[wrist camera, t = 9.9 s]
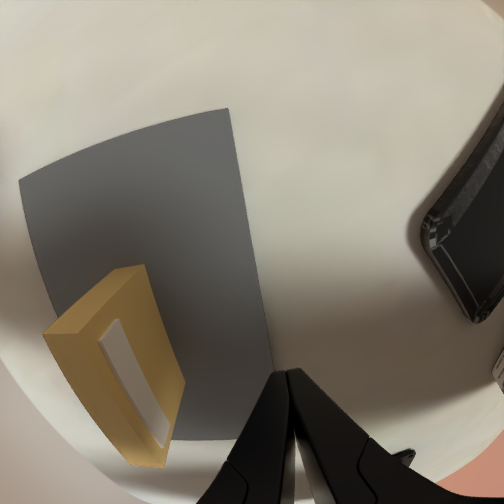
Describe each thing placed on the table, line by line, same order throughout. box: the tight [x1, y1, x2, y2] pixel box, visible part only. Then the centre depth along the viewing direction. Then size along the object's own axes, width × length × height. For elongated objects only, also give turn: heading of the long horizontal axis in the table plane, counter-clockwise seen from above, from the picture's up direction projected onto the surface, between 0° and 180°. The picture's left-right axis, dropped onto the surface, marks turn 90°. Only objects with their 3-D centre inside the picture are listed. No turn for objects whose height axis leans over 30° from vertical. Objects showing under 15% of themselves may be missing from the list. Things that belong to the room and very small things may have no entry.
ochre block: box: [42, 264, 186, 469], centre depth 9 cm, size 6×2×5 cm, turn 10°
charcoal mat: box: [19, 108, 274, 440], centre depth 11 cm, size 16×10×1 cm, turn 10°
